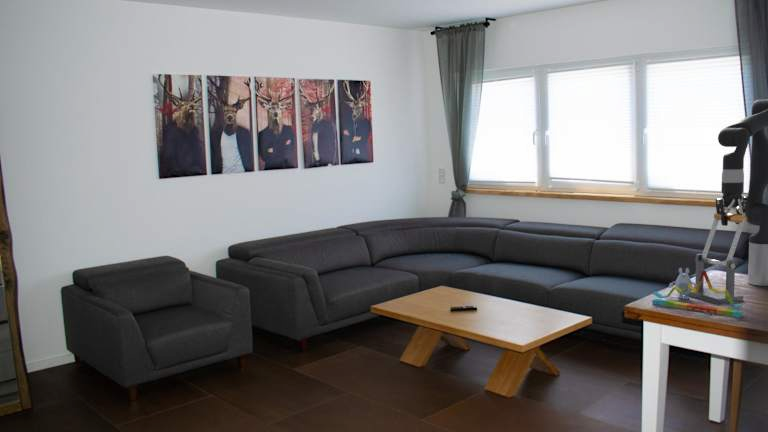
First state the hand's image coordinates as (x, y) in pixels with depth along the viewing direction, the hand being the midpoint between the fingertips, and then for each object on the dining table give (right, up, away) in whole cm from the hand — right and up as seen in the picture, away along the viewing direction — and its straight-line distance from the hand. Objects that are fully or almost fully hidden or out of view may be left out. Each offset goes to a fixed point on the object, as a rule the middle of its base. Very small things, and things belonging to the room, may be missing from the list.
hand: (731, 224), depth 261 cm
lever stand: (-6, -28, +1) cm, 29 cm away
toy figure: (-17, -29, +2) cm, 34 cm away
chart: (-20, -31, -14) cm, 40 cm away
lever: (-7, -14, -1) cm, 16 cm away
